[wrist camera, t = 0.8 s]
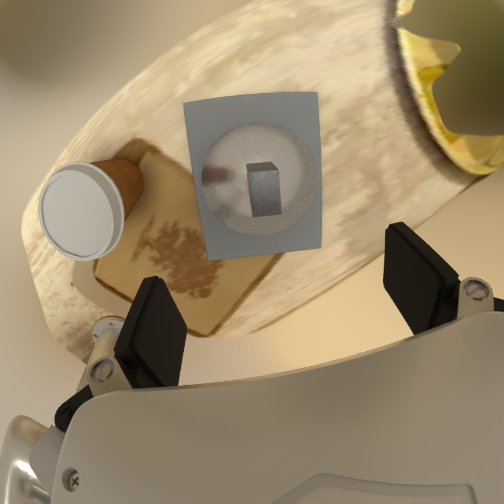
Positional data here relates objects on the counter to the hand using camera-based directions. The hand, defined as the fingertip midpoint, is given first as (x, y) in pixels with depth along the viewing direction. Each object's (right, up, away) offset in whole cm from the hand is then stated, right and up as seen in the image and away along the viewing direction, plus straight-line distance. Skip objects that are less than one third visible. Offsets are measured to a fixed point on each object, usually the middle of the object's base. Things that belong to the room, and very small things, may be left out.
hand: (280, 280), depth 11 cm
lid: (0, +10, +20) cm, 22 cm away
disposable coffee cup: (-17, +10, +20) cm, 28 cm away
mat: (0, +10, +21) cm, 23 cm away
